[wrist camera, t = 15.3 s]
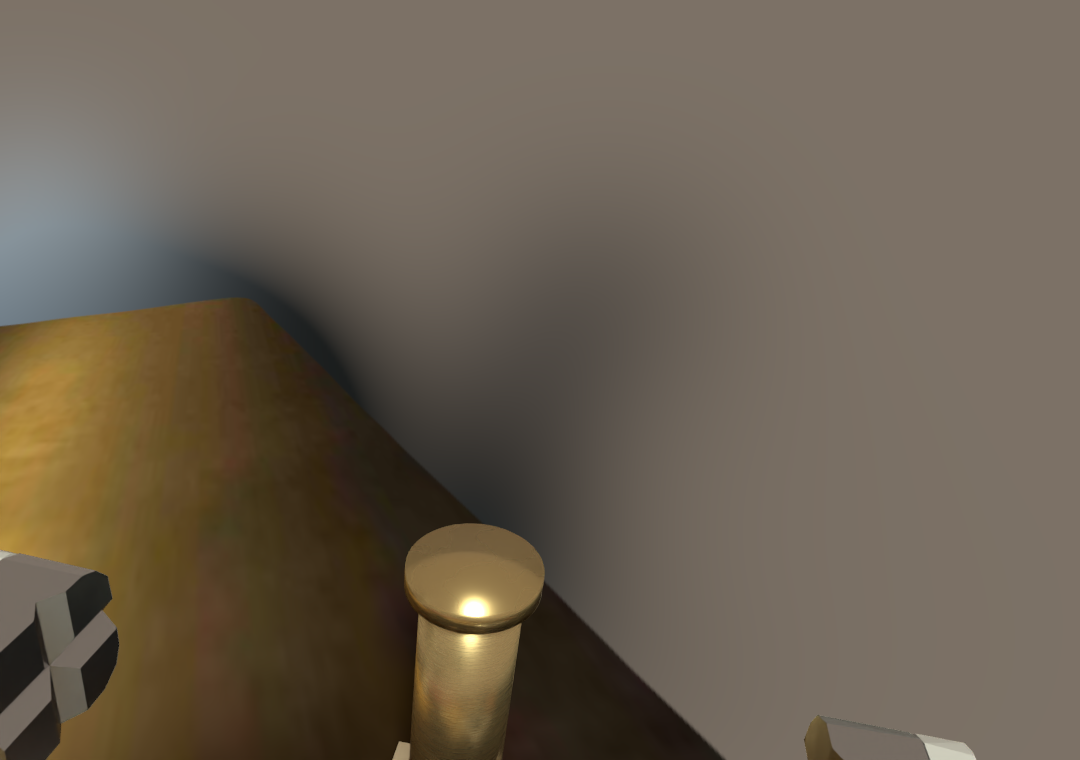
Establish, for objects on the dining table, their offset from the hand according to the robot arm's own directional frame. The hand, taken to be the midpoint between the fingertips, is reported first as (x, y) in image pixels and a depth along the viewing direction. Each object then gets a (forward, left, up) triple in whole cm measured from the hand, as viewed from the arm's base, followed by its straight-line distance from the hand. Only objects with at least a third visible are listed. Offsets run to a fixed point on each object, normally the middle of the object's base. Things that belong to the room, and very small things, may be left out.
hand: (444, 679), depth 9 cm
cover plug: (-3, +20, -32) cm, 38 cm away
